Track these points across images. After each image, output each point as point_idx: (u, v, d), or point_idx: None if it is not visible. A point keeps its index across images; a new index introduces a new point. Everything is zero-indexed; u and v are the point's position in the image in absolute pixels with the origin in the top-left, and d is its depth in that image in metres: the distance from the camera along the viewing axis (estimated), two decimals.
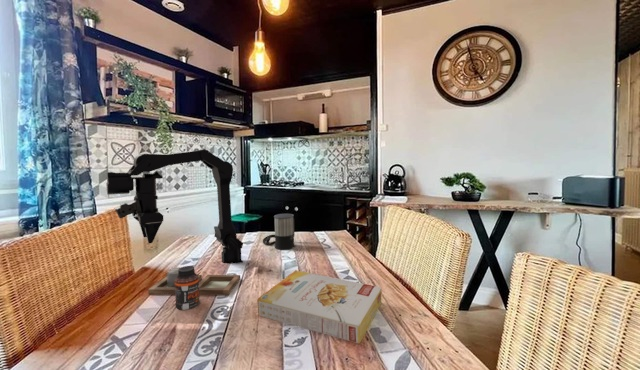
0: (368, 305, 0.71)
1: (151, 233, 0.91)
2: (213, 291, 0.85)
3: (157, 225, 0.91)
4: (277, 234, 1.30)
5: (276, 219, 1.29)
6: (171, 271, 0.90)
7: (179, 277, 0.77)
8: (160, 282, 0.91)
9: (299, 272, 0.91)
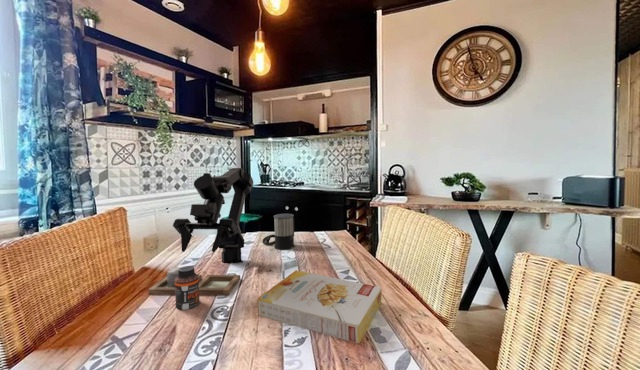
0: (367, 305, 0.71)
1: (219, 242, 0.89)
2: (213, 291, 0.85)
3: (225, 237, 0.91)
4: (277, 234, 1.30)
5: (276, 219, 1.29)
6: (171, 271, 0.90)
7: (179, 277, 0.77)
8: (160, 282, 0.91)
9: (299, 272, 0.91)
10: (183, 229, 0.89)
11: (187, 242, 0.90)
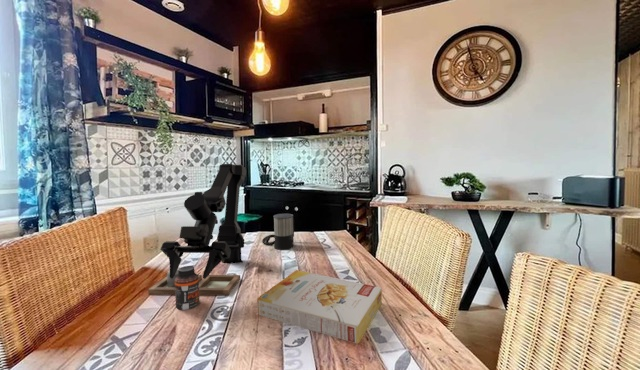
0: (367, 306, 0.71)
1: (210, 267, 0.82)
2: (213, 291, 0.85)
3: (218, 261, 0.84)
4: (276, 234, 1.30)
5: (275, 219, 1.29)
6: None
7: (179, 277, 0.77)
8: (160, 282, 0.91)
9: (299, 272, 0.91)
10: (172, 253, 0.82)
11: (176, 267, 0.83)
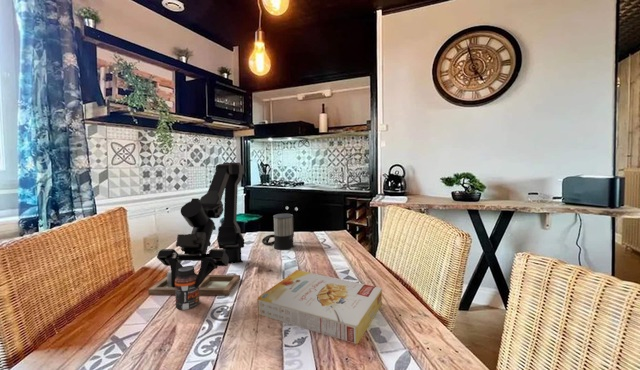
0: (367, 306, 0.71)
1: (203, 276, 0.80)
2: (213, 291, 0.85)
3: (210, 269, 0.83)
4: (276, 234, 1.30)
5: (275, 219, 1.29)
6: None
7: (179, 277, 0.77)
8: (160, 282, 0.91)
9: (300, 272, 0.91)
10: (173, 261, 0.80)
11: None
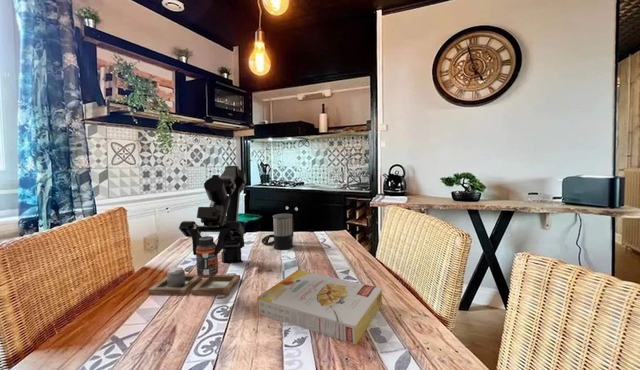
0: (366, 306, 0.71)
1: (221, 245, 0.87)
2: (213, 291, 0.85)
3: (228, 240, 0.90)
4: (276, 234, 1.30)
5: (275, 219, 1.29)
6: (171, 271, 0.90)
7: (200, 245, 0.85)
8: (160, 282, 0.91)
9: (300, 271, 0.91)
10: (194, 232, 0.87)
11: None
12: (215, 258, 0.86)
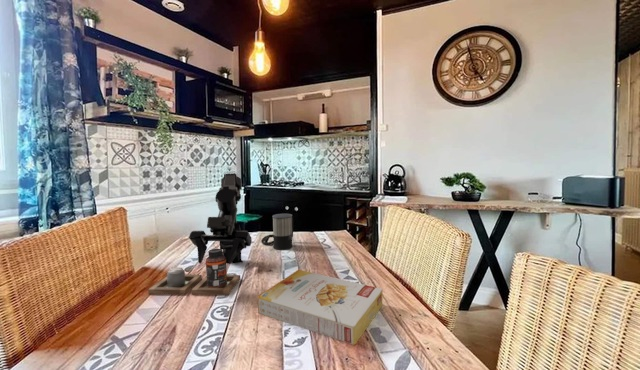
0: (366, 307, 0.70)
1: (234, 254, 0.91)
2: (213, 291, 0.85)
3: (240, 248, 0.93)
4: (275, 234, 1.30)
5: (274, 219, 1.29)
6: (171, 271, 0.90)
7: (210, 257, 0.89)
8: (160, 282, 0.91)
9: (301, 271, 0.92)
10: (199, 241, 0.91)
11: (203, 254, 0.92)
12: (224, 269, 0.90)
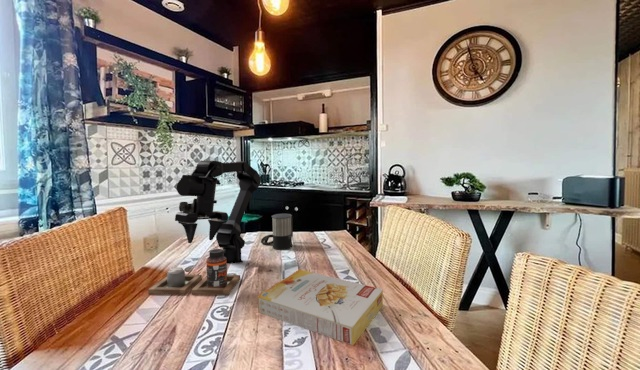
0: (365, 307, 0.70)
1: (189, 233, 0.96)
2: (213, 291, 0.85)
3: (191, 227, 0.94)
4: (275, 234, 1.30)
5: (274, 219, 1.29)
6: (171, 271, 0.90)
7: (210, 258, 0.89)
8: (160, 282, 0.91)
9: (302, 271, 0.92)
10: None
11: (213, 231, 1.05)
12: (225, 270, 0.90)
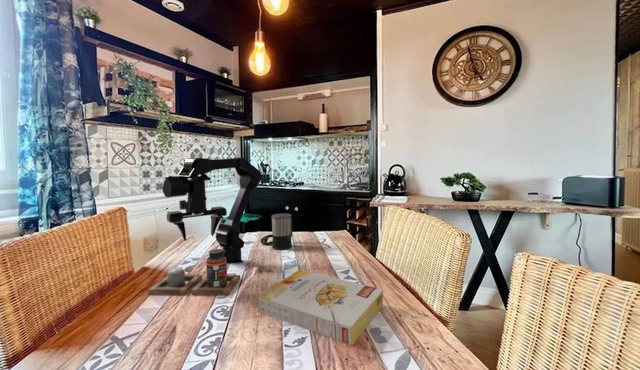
0: (364, 307, 0.70)
1: None
2: (213, 291, 0.85)
3: (179, 225, 0.97)
4: (274, 234, 1.30)
5: (273, 219, 1.29)
6: (171, 271, 0.90)
7: (210, 258, 0.88)
8: (160, 282, 0.91)
9: (303, 271, 0.92)
10: None
11: (212, 227, 1.04)
12: (225, 270, 0.90)
